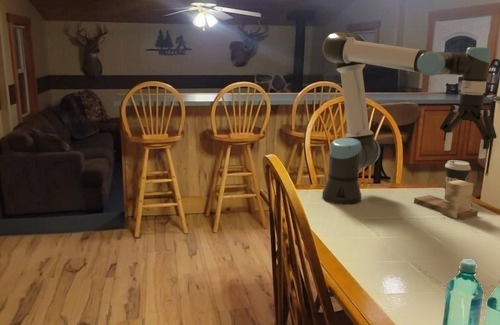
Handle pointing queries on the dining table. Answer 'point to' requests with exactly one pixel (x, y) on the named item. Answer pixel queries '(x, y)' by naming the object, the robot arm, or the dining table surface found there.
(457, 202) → the tan block with peg
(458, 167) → the coffee cup
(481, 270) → the dining table surface
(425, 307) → the dining table surface
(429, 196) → the plank
